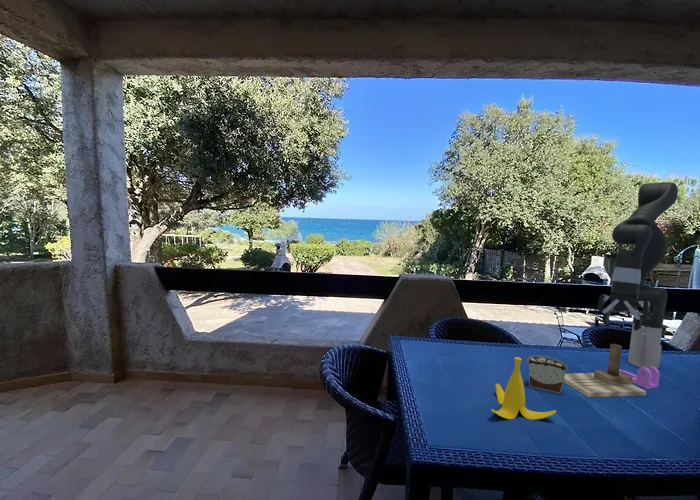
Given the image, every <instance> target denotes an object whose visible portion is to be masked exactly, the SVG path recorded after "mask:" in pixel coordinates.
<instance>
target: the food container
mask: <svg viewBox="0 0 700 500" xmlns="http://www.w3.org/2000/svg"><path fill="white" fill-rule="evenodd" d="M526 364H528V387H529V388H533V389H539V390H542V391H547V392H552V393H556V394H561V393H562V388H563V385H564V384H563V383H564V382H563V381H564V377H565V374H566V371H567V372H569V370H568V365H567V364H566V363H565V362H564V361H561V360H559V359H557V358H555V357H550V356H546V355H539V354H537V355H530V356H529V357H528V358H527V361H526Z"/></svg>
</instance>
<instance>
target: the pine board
mask: <svg viewBox="0 0 700 500" xmlns="http://www.w3.org/2000/svg"><path fill="white" fill-rule="evenodd" d="M563 383H565V384H566V385H568V386H569V387H571V388H572V389H575V390H576V391H578V392H579V393H581V394H582V395H584V396H585V397H587V398H607V397H631V396H632V397H635V396H636V397H637V396H646V395H647V390H646V389H643V388H641V387H640V386H638V385H636V384H634V383H631V385H627V386H608V385H606V384H604V383H602V382H600V381H598V380H597V379H595V378H594V372H580V373H579V372H577V373H576V372H575V373H574V372H573V373H565V377H564V381H563Z"/></svg>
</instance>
